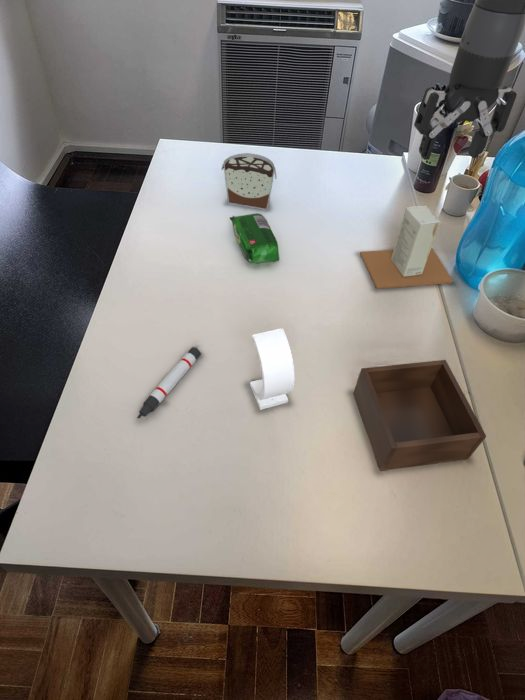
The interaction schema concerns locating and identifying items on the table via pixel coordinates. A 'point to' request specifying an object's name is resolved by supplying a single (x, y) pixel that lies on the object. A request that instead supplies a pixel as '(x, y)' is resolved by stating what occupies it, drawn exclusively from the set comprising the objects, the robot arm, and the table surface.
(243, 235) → the snack package
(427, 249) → the cosmetic box
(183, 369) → the marker
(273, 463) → the table surface
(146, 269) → the table surface
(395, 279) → the mat
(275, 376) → the headphone stand
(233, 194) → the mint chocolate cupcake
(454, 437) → the compartment
